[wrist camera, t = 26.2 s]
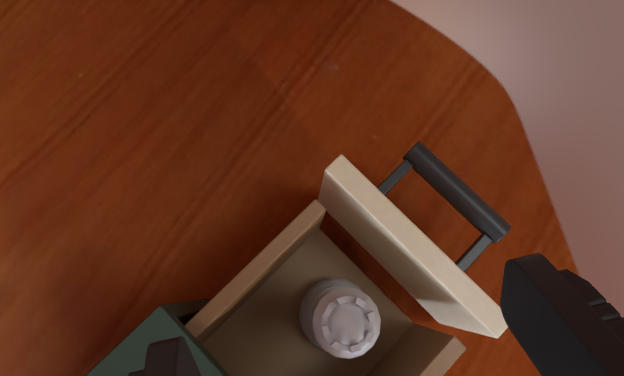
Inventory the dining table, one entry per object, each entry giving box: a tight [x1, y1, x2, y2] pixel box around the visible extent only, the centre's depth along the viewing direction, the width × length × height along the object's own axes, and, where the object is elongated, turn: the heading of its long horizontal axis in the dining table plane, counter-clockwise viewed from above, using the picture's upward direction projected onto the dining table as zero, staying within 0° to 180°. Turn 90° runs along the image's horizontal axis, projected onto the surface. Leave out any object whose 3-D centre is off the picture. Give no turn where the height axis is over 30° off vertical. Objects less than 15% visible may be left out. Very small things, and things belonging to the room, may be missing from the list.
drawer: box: [185, 141, 511, 376], centre depth 25 cm, size 18×11×9 cm, turn 135°
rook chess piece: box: [299, 278, 381, 359], centre depth 25 cm, size 4×4×8 cm
